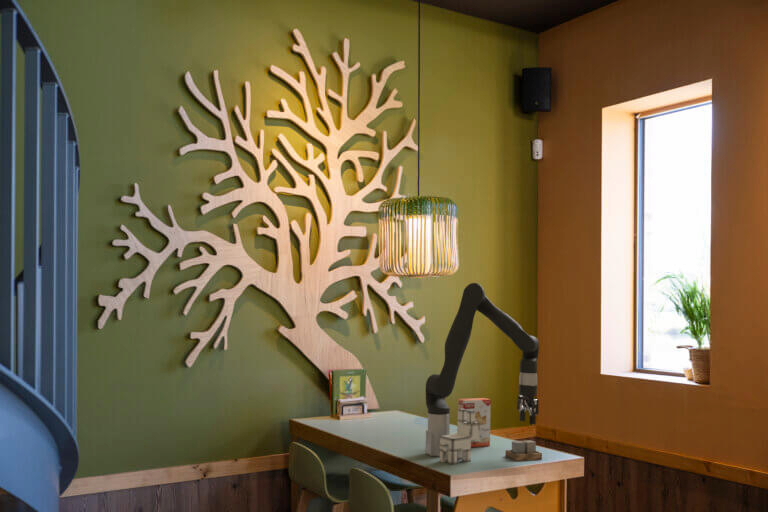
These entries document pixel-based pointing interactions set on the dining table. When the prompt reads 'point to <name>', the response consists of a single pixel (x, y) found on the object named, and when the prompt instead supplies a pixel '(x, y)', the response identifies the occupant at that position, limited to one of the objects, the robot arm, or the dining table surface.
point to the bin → (523, 456)
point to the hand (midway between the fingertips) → (527, 422)
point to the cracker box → (479, 417)
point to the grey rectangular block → (518, 447)
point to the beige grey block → (530, 447)
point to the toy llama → (460, 439)
